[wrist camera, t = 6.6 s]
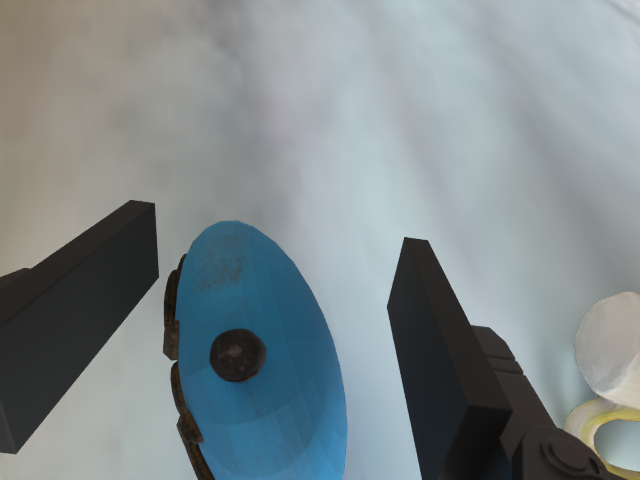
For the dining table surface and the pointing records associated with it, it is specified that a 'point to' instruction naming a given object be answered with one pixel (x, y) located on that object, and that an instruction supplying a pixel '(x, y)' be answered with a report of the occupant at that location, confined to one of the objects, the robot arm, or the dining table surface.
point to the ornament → (252, 362)
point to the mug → (608, 369)
